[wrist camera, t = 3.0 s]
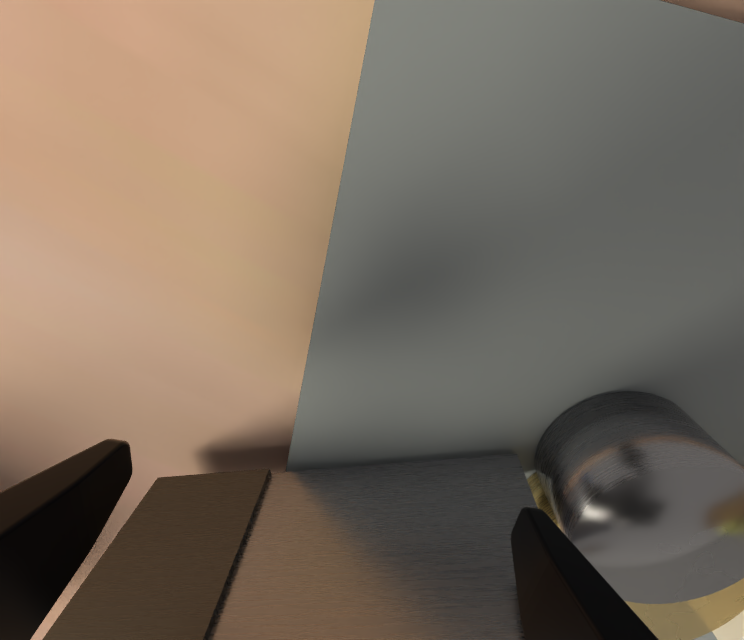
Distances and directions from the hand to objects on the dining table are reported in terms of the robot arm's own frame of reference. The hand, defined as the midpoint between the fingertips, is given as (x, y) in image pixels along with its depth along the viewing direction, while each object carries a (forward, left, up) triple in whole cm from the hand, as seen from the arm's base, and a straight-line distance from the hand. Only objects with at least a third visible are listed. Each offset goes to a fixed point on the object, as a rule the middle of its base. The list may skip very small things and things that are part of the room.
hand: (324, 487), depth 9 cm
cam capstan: (+4, +4, -4) cm, 7 cm away
